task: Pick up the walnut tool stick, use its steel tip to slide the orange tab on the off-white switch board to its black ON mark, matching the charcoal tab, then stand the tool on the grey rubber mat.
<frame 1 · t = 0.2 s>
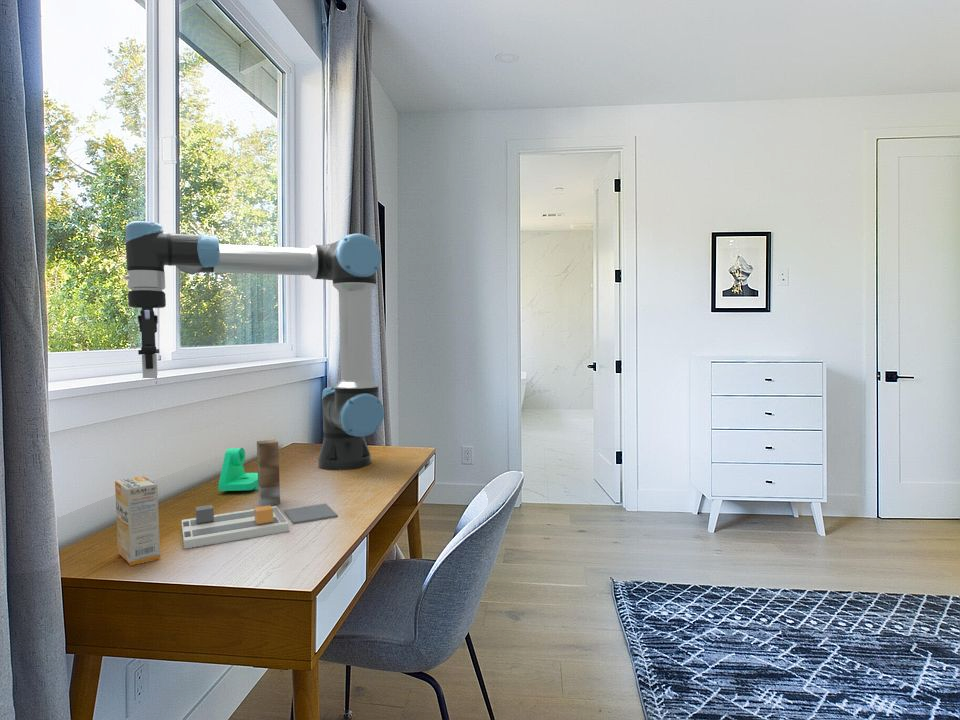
hand: (150, 382, 136), 28 cm above the table, fingers open, 13 cm apart
camera mount: (244, 489, 147), on the table
tab b: (204, 513, 115), point 3 cm above the table, slide at 10.0 cm
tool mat: (310, 514, 123), on the table
tab a: (263, 514, 114), point 3 cm above the table, slide at 0.0 cm
switch board: (234, 529, 114), on the table
supplement box: (138, 558, 101), on the table
tool stick: (269, 502, 133), on the table
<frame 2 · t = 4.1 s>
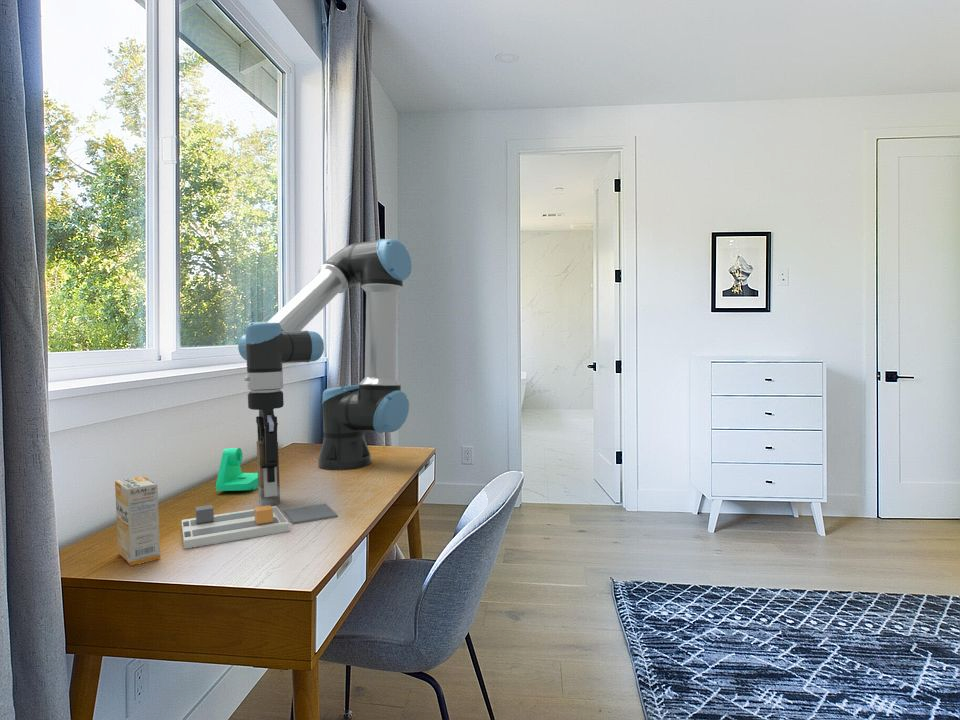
hand: (269, 493, 133), 2 cm above the table, fingers closed on tool stick, 4 cm apart
tool stick: (269, 502, 133), on the table, touching gripper
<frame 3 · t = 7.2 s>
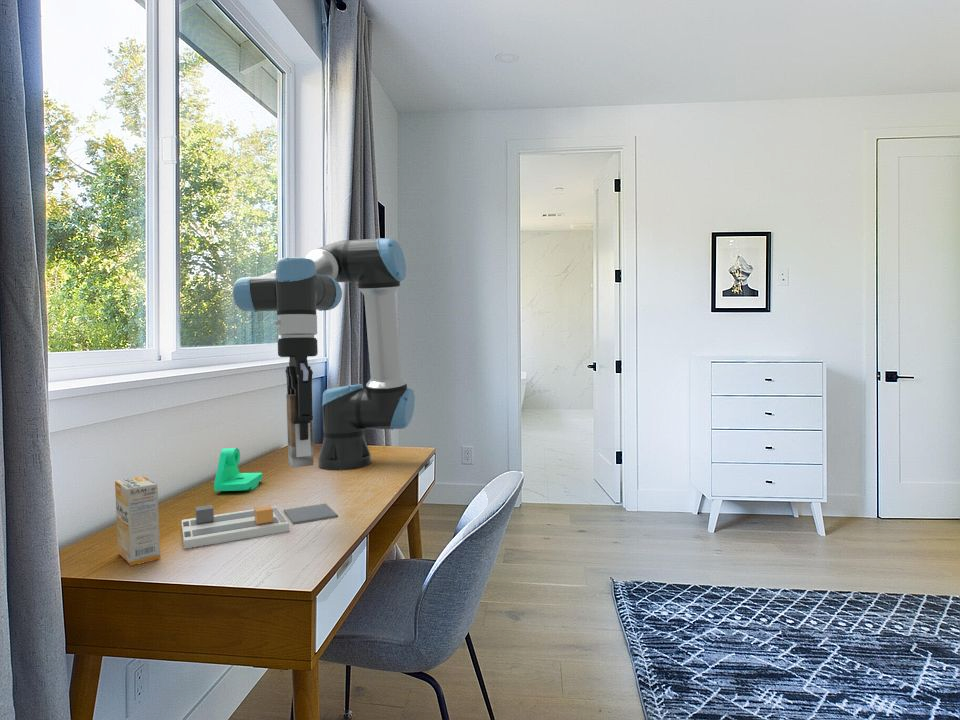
hand: (300, 454, 117), 14 cm above the table, fingers closed on tool stick, 4 cm apart
tool stick: (300, 464, 117), point 12 cm above the table, touching gripper
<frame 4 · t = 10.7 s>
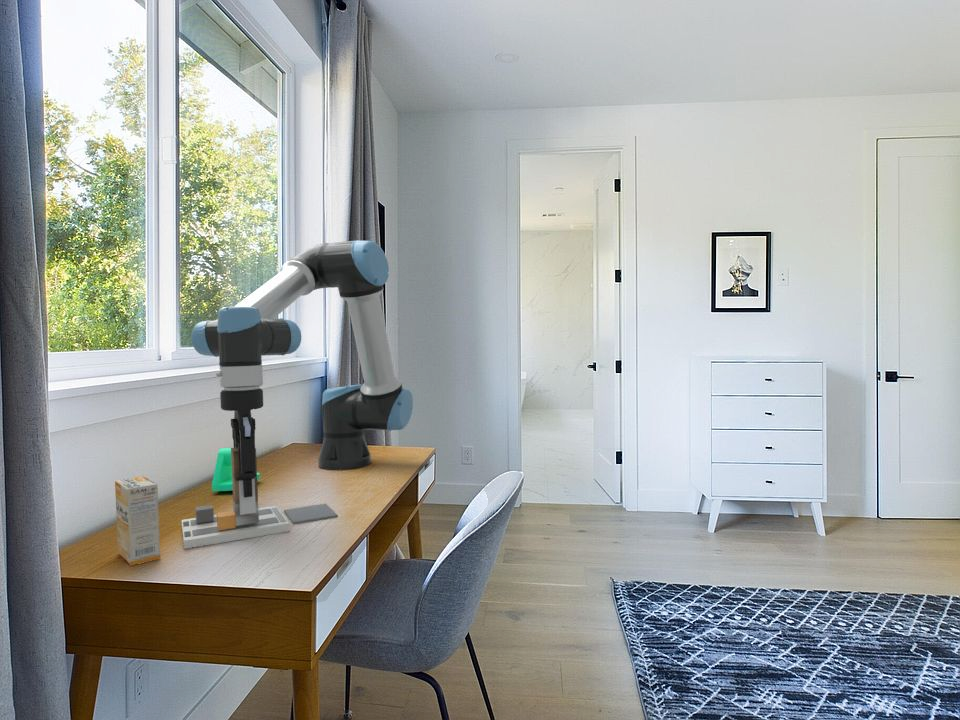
hand: (246, 509, 112), 4 cm above the table, fingers closed on tool stick, 4 cm apart
tab a: (226, 520, 110), point 3 cm above the table, slide at 6.7 cm, touching tool stick
tool stick: (246, 521, 112), point 2 cm above the table, touching gripper, tab a
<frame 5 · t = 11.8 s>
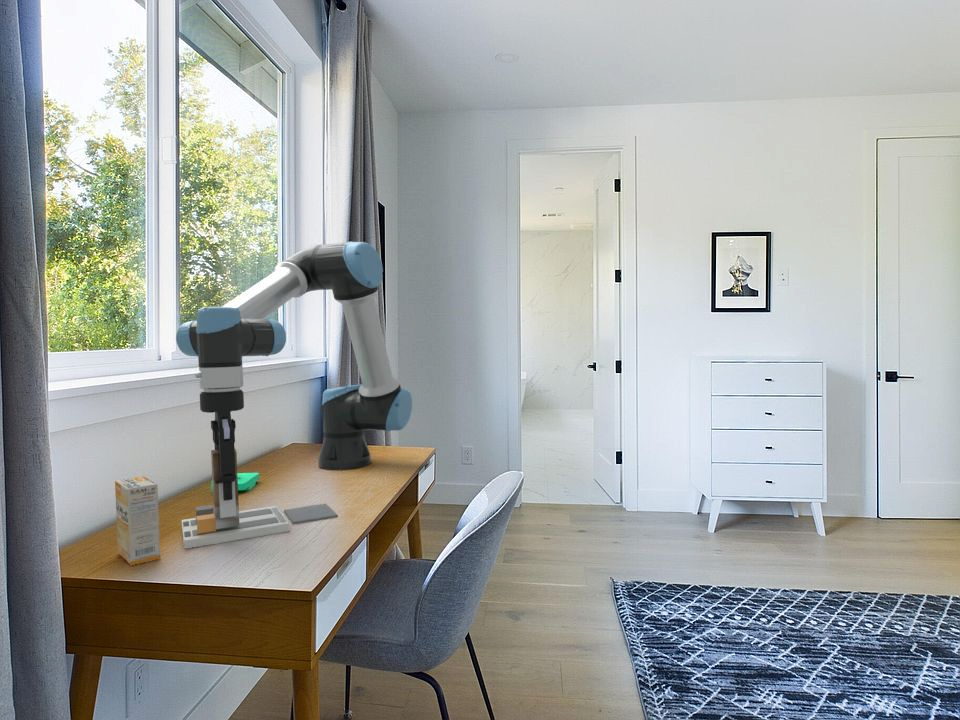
hand: (226, 513, 110), 4 cm above the table, fingers closed on tool stick, 4 cm apart
tab a: (206, 523, 109), point 3 cm above the table, slide at 10.1 cm, touching tool stick
tool stick: (226, 524, 110), point 2 cm above the table, touching gripper, tab a
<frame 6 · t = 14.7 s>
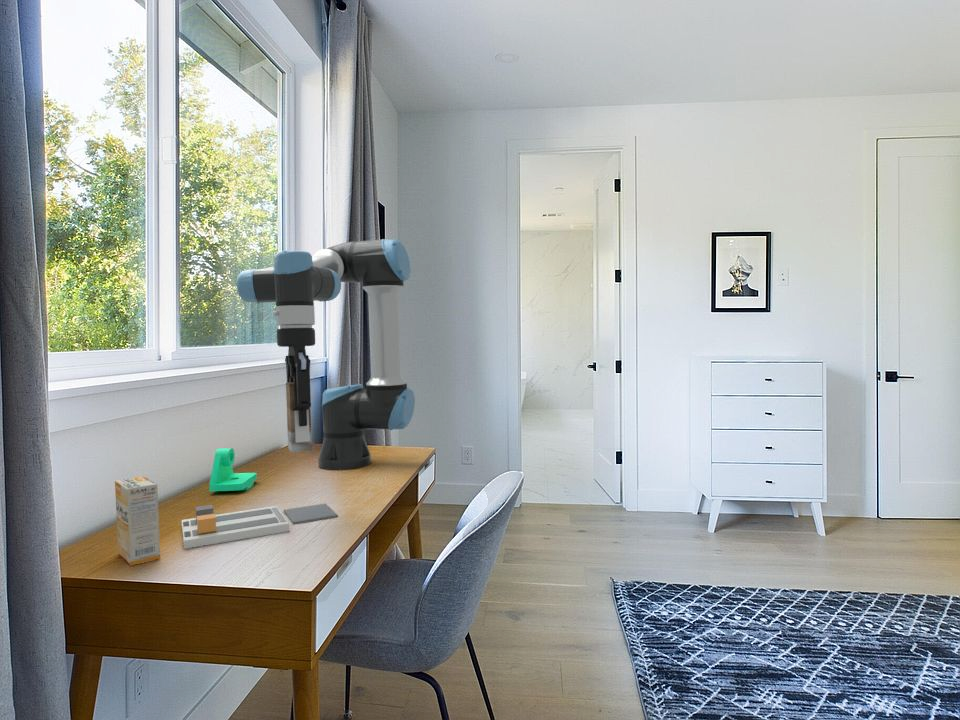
hand: (300, 439, 122), 16 cm above the table, fingers closed on tool stick, 4 cm apart
tab a: (206, 523, 109), point 3 cm above the table, slide at 10.1 cm
tool stick: (300, 449, 122), point 14 cm above the table, touching gripper
when the fingers open (4 cm above the table, at t = 17.6 s): tool stick drops 1 cm, resting on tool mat.
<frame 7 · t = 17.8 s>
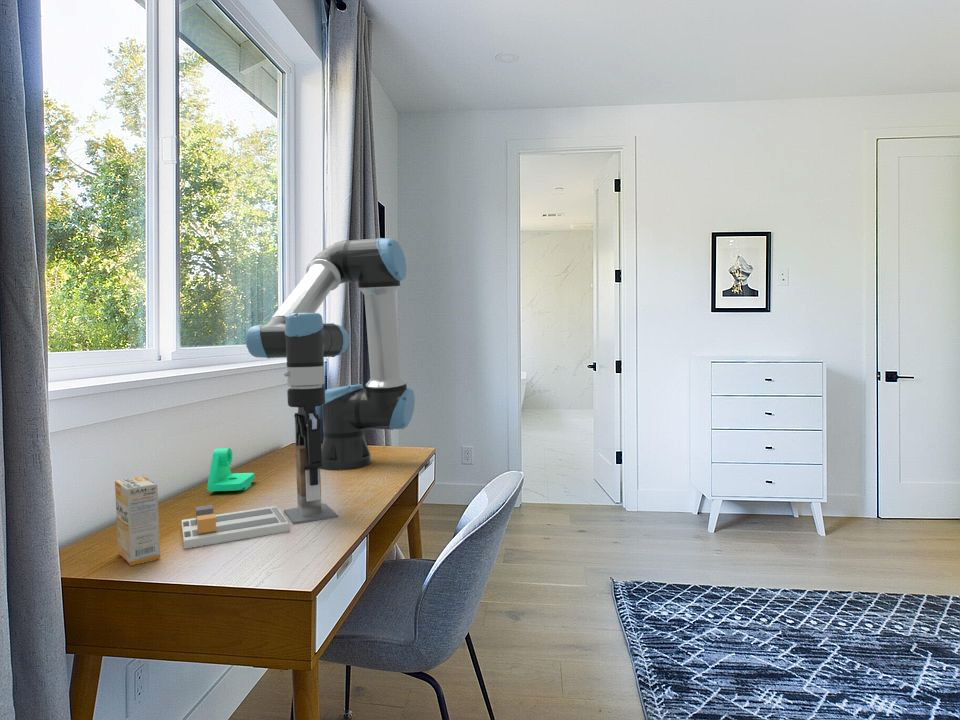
hand: (309, 496, 123), 4 cm above the table, fingers open, 6 cm apart
tool stick: (309, 512, 123), resting on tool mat
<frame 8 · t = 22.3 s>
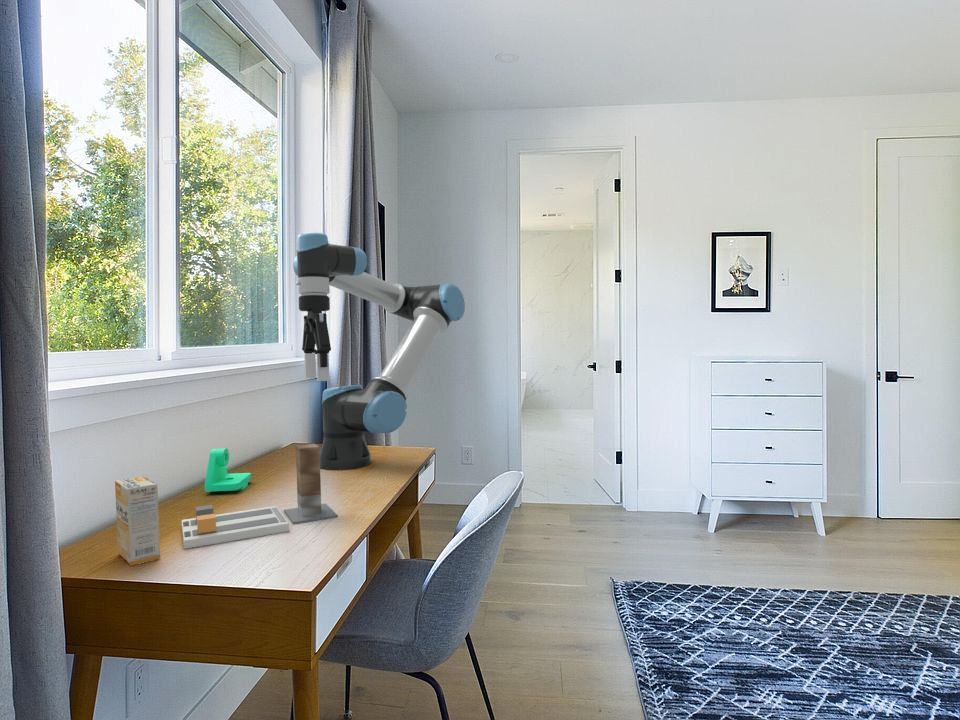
hand: (316, 379, 148), 27 cm above the table, fingers open, 13 cm apart
at the end: tab a slide at 10.1 cm; tool stick inside the target area on the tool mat (0.1 cm from its centre), point 0.4 cm above the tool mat's base; tool stick tilted 0° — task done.
